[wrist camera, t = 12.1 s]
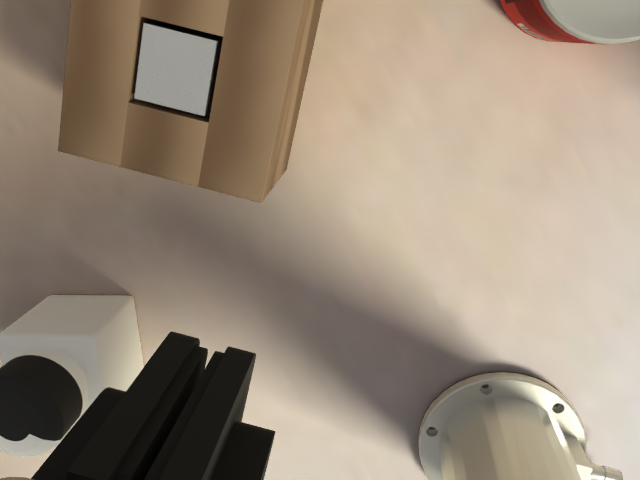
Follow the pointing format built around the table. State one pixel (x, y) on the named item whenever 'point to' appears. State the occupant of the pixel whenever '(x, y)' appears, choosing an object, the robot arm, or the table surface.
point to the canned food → (577, 20)
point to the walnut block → (180, 126)
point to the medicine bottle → (63, 366)
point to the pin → (178, 67)
